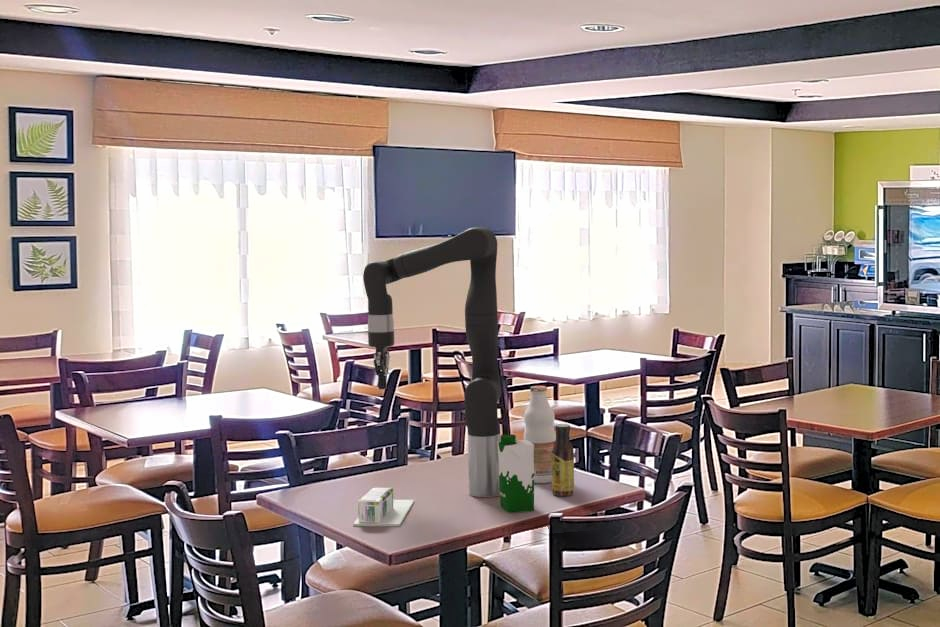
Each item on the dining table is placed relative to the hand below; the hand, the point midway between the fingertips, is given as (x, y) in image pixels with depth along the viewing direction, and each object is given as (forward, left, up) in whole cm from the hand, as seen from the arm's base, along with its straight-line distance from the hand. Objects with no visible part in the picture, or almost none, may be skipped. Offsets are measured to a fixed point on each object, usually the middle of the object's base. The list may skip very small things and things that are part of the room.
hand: (382, 388), depth 308 cm
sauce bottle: (-52, +9, -29) cm, 60 cm away
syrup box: (-4, +25, -26) cm, 36 cm away
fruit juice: (-45, -8, -29) cm, 54 cm away
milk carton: (-40, +24, -29) cm, 55 cm away
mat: (-5, +29, -29) cm, 41 cm away
